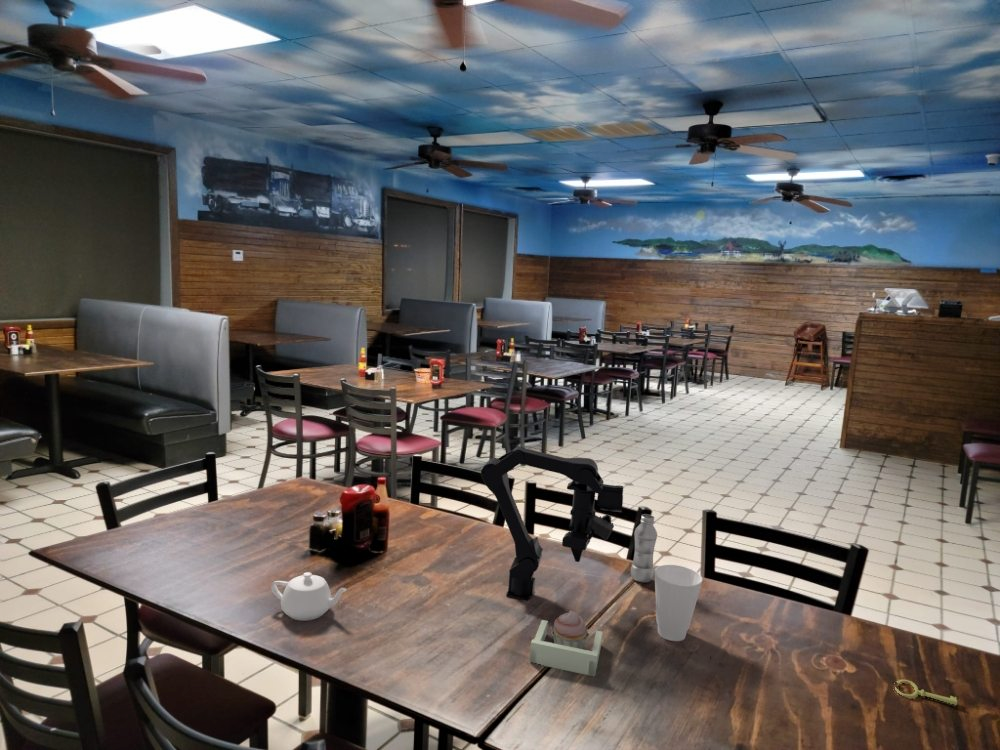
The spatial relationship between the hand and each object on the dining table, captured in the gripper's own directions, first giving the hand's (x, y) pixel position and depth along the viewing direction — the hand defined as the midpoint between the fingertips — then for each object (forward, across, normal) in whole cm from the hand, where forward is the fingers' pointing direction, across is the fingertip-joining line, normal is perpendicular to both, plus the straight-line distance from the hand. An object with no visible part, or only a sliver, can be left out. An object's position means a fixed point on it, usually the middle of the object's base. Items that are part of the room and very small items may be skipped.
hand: (577, 561), depth 181 cm
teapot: (+13, -34, +61) cm, 71 cm away
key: (+12, -9, -82) cm, 83 cm away
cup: (+12, -6, -26) cm, 30 cm away
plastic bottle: (+12, +22, -16) cm, 30 cm away
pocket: (+12, -25, -3) cm, 28 cm away
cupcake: (+12, -24, -3) cm, 27 cm away
